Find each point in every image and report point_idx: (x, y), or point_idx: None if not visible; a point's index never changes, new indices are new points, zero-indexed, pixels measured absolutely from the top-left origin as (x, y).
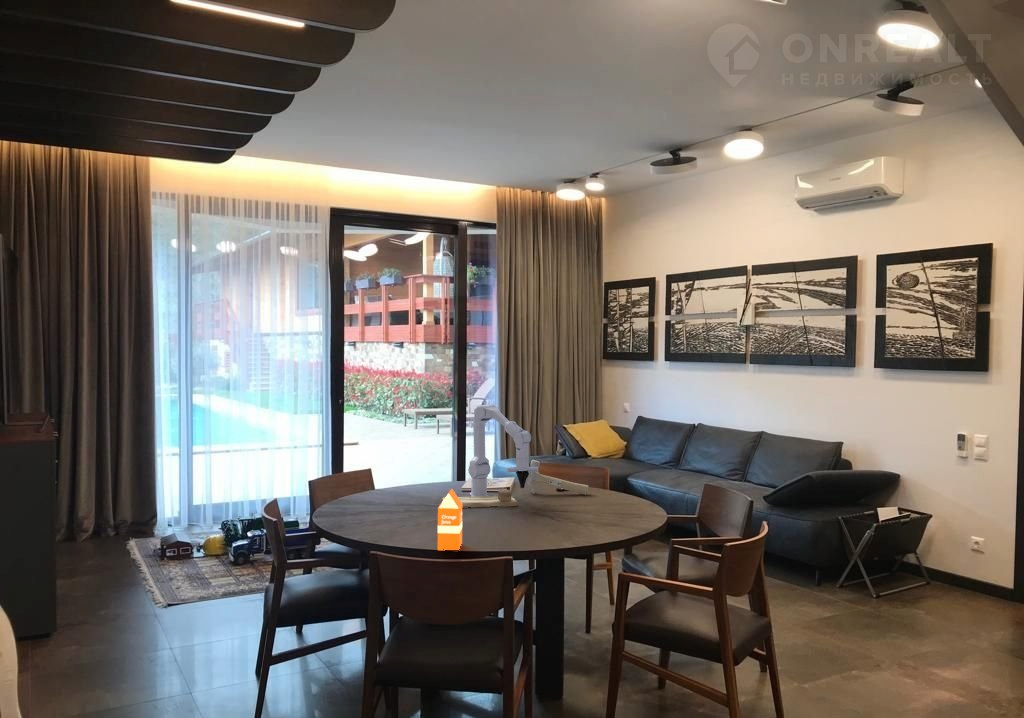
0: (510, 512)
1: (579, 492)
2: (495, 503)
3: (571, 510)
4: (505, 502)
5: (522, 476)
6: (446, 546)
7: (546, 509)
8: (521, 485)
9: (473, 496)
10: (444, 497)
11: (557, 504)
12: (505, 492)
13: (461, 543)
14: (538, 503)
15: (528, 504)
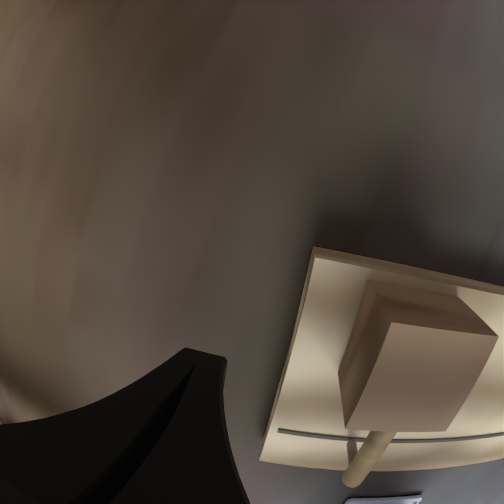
0: (449, 43)
1: None
2: (487, 289)
3: (33, 20)
4: (422, 276)
5: (141, 488)
6: None
7: (133, 45)
8: (217, 375)
9: (474, 462)
10: None
11: (24, 190)
12: (456, 331)
13: None
14: (112, 265)
15: (193, 261)
